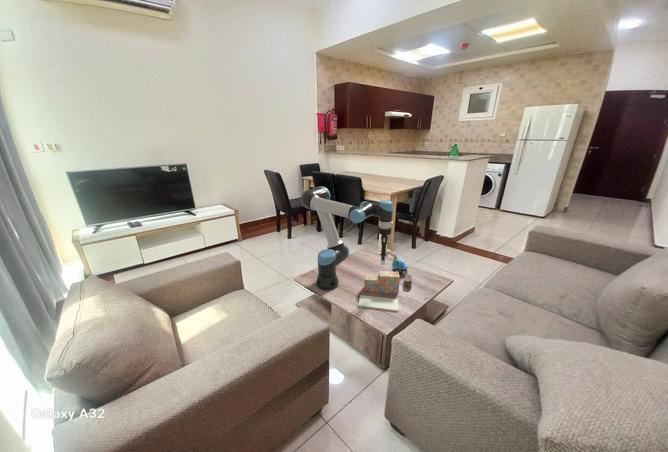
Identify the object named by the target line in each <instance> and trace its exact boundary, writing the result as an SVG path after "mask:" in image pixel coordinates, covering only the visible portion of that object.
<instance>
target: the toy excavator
mask: <svg viewBox="0 0 668 452" xmlns="http://www.w3.org/2000/svg"><path fill="white" fill-rule="evenodd" d="M389 255H390V256H392V257H393V260H392V262H391V267H392V269H393V272H399V273H401V275H402V276H405V274H407V275H408V269H409V264H408V263H407V262H405V260H404V258H402V257H398V256H397V254H396V253H395V252H393V251H391V249H388V248H387V249H386V258H387V257H388V256H389Z"/></svg>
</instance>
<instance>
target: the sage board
mask: <svg viewBox="0 0 668 452" xmlns="http://www.w3.org/2000/svg"><path fill="white" fill-rule="evenodd" d="M358 301H359V302H358V304H357V307H360V308H367V309H375V310H383V311H390V312H399V299H398V298H396V299H395V298H388V297H379V296H372V295H371V296H370V295H364V294H360V295H359V299H358Z"/></svg>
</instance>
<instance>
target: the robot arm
mask: <svg viewBox="0 0 668 452" xmlns="http://www.w3.org/2000/svg"><path fill="white" fill-rule="evenodd" d="M300 202H301V204H302V206H303V207H304V208H306V209H308V210H311V211H316V213H317V216H318V218H319V219H318V220H319V221H320V224H321V228H322V230H323V233H324V236H325V238H326V242H327V245H326V248H325V249H322V250H320V251H319V252H318V254H317V268H318V269H317V271H318V272H317V273H318V274H317V277H316V282H315V283H316V285H315V286H316V287H317V288H318V289H320V290H323V291H332V290H334V289H336V288H338V286H339V282H340V281H339V278H338V275H337V269H336V267H338V266H339V265H340V264H341V263H343V262H345V261H346V260H347V258H348V257H349V255H350V249H349V247H348V245H347V244H346V243H344V241H343V240H341V239H340V236H339V233H338V230H337V227H336V224H335V222H334V219H333V215H336V216H339V217H343V218H346V219H349V220H350V221H351V222H352V223H354V224H359V223H362V222H363V221H365V220H366V219H368V218H369V217H371V216H372V217H378V229H377V230H378V231H377V233H378V234H379V235H381V236H380V243H381V249H380V250H381V252H380V253H379V256H380V264H379V265H382V266H386V258H387V257H386V250H387V245H388V240H389V236H390V235H391V234H392V229H393V228H392V224H394V222H393V212H394V207H393V206H394V203H393V201H391V200H387V199H386V200H380V201H379V203H377V202H370V201H362V202H360V203H359V206H356V205H351V204H348V203H343V202H339V201H336V200H331V192H330V190H329V189H328V188H327V187H325V186H316V187H314V188H310V189H306V190H304V191H303V192H302V194H301V196H300Z"/></svg>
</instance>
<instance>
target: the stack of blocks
mask: <svg viewBox="0 0 668 452" xmlns="http://www.w3.org/2000/svg"><path fill="white" fill-rule="evenodd" d="M400 279H401V278H400V272H394V270H392V271H387V270H383V271H382V270H380V271H378V274H364V292H365V293H383V294H384V293H386V294H399V290H400Z"/></svg>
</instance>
